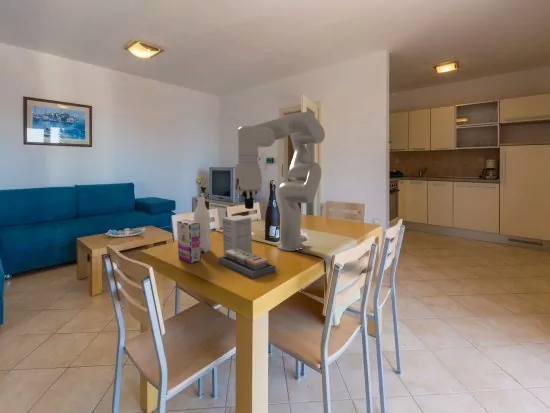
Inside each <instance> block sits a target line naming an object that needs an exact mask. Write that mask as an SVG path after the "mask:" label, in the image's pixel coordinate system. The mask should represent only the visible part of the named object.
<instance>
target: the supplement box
mask: <svg viewBox="0 0 550 413" xmlns="http://www.w3.org/2000/svg"><path fill="white" fill-rule="evenodd" d="M252 237H253V236H252V218H251V217H249V216H243V215H234V216H233V215H232V216H227V217H222V243H223V244H222V246H223V256H227V253H225V251H227V250H232V249H236V248H239V249H241V250H244V251H246V252H249V253H252V254H253V249H252V248H253V245H252V244H253V243H252Z"/></svg>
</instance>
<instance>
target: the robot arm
mask: <svg viewBox="0 0 550 413" xmlns="http://www.w3.org/2000/svg"><path fill="white" fill-rule="evenodd" d="M325 135H326V132H325V129H324V127H323V125H321V123H320V122H319V120H318V119H317V118H316V116H315V115H313V114H312V113H311V112H309V111H301V112H293V113H292V112H291V113H288V114H286V115H285V114H284V115H283V116H281V117H278V118H276V119H272V120H269V121H268V120H267V121H265V122H262V123H258V124H255V125H252V126H251V125H243V126H240V127H239V128H238V129H237V151H238V152H237V153H238V158H237V161H238V163H237V164H236V165H235V170H234V186H233V187H234V190H236V195H237V194H238V195H241V196H242V197H243V199H244V208H245V209H247V210H253V209H254V205H255V204H254V199H255V198H256V195H257V194H259V193H261V192H262V190H261V189H262V186H263V183H262V182H263V181H262V180H263V179H262V170H261V164H260V163H259V162H260V161H261V157H259V148H269V147H272V146H273V144H274V143H276V142H275V141H278V140H282V139H285V138H287V137H288V136H290V140H291V145H292V149H293V152H294V153H293V156H292V160H291V163H290V166H289V168H288V172H287V178H288V180H290V181H284V182H282V183H281V184H280V185H279V186H278V190H277V192H278V193H277V195H278V199H279V205H280V243H278V244H277V247H276V248H277V250H280V251H285V252H296V251H295V250H296V249H300V248H303V247H305V246H304V244H303V242H306V241H308V239H307V237H306V236H305V237H301V233H302V232H301V231H302V230H301V224H302V223H301V221H302V220H301V216H302V215H301V214H302V213H301V211H302V210H301V208H300V206H299V203H300V204H310V203H312V202H313V201H314V200H315V197H316V194H317V191H318V188H319V185H320V181H321V177H322V167H321V165H320V164H319V163H317V162H314V161H311V158H312V154H311V152H310V150H309V149H308V147H307V146H306V145H318V144H320V143H321V144H322V143H323V141H324V139H325V138H326V136H325ZM303 249H304V248H303Z"/></svg>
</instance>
